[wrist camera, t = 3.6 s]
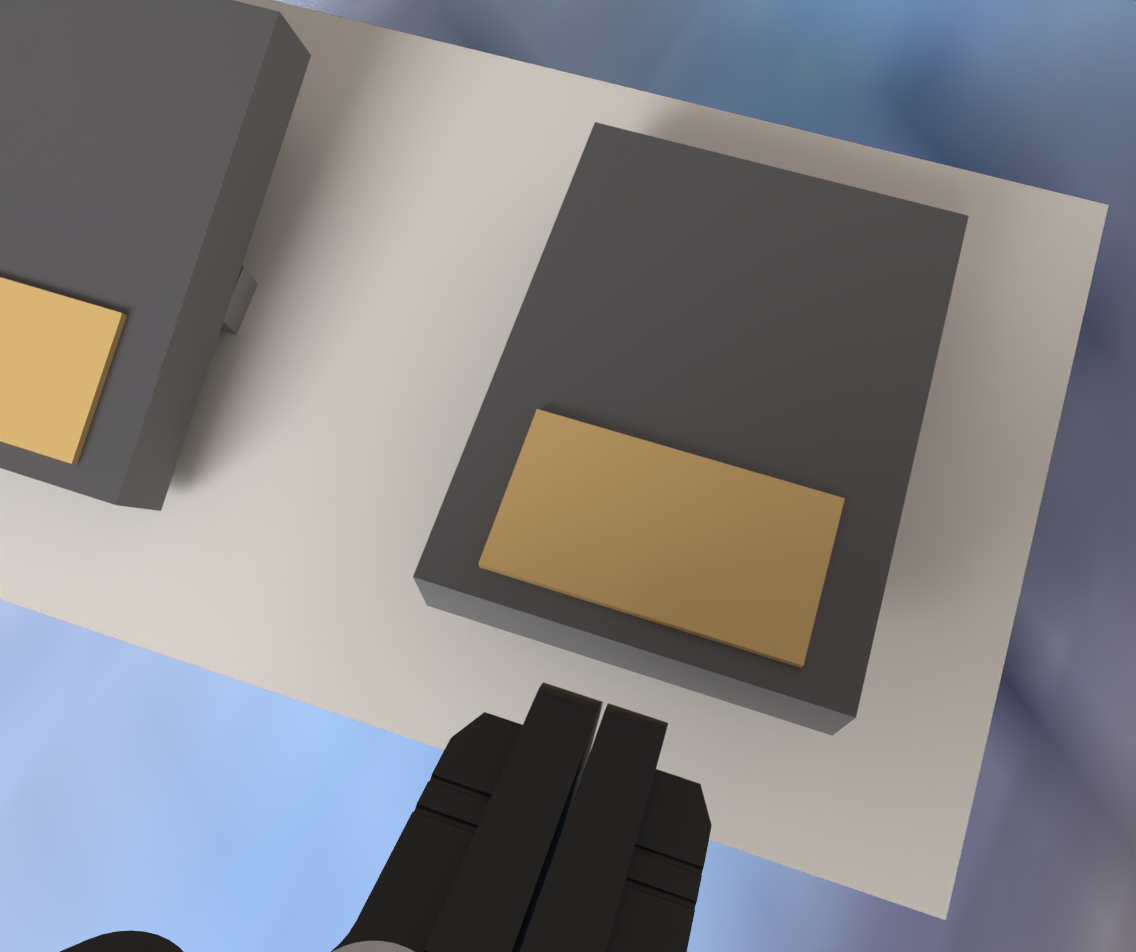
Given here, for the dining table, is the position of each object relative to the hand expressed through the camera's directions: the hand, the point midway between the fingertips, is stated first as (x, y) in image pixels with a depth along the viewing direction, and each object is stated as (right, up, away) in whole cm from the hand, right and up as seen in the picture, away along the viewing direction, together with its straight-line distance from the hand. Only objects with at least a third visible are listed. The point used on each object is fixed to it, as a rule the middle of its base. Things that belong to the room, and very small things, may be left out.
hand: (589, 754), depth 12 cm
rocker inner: (-9, +7, +5) cm, 12 cm away
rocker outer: (+2, +4, +4) cm, 6 cm away
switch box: (-3, +3, +16) cm, 16 cm away
